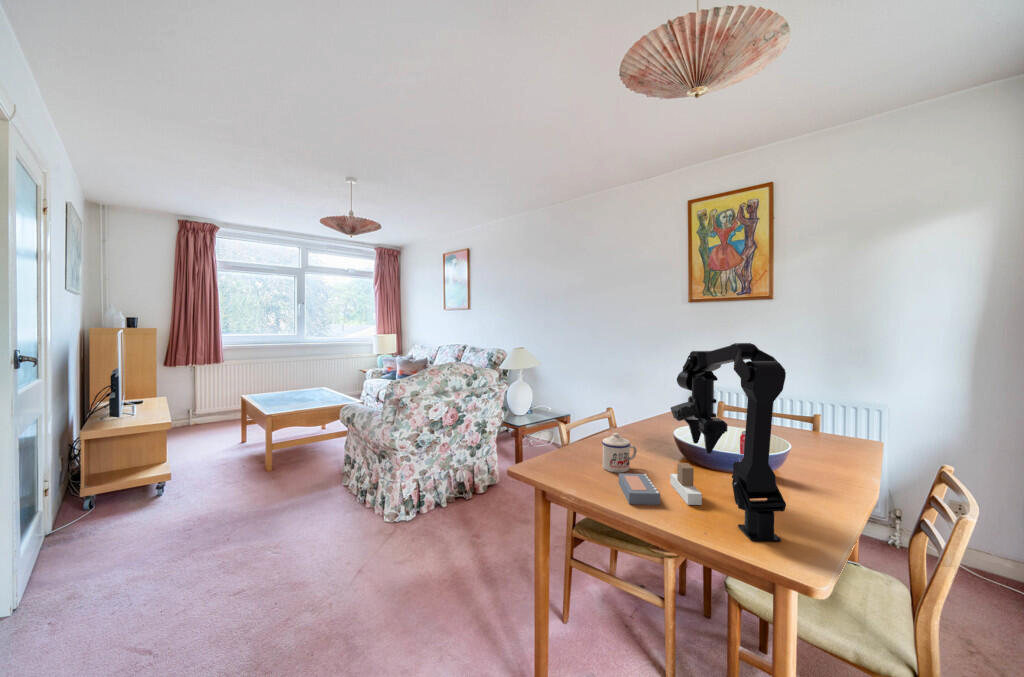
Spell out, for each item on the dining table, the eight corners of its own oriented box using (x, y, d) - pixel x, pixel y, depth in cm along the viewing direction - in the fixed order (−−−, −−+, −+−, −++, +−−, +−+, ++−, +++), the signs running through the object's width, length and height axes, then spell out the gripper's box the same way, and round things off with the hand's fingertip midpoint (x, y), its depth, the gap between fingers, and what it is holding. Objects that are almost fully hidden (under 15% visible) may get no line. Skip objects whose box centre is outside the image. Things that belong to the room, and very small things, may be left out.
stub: (701, 505, 107) (702, 475, 107) (687, 504, 108) (688, 474, 107) (682, 483, 121) (683, 457, 121) (670, 483, 122) (670, 457, 121)
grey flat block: (659, 504, 108) (659, 493, 108) (629, 504, 108) (629, 492, 108) (645, 483, 122) (645, 473, 122) (618, 483, 122) (618, 473, 122)
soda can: (769, 478, 126) (770, 436, 125) (743, 476, 127) (744, 435, 126) (760, 470, 132) (761, 430, 132) (736, 468, 134) (737, 429, 133)
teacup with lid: (609, 474, 129) (609, 438, 129) (597, 464, 138) (597, 430, 138) (643, 471, 132) (643, 435, 132) (629, 461, 141) (629, 428, 141)
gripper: (663, 388, 127) (663, 438, 127) (685, 400, 108) (684, 458, 109) (700, 389, 126) (699, 438, 127) (728, 400, 107) (727, 459, 108)
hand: (701, 448), depth 117 cm, fingers open, 9 cm apart
